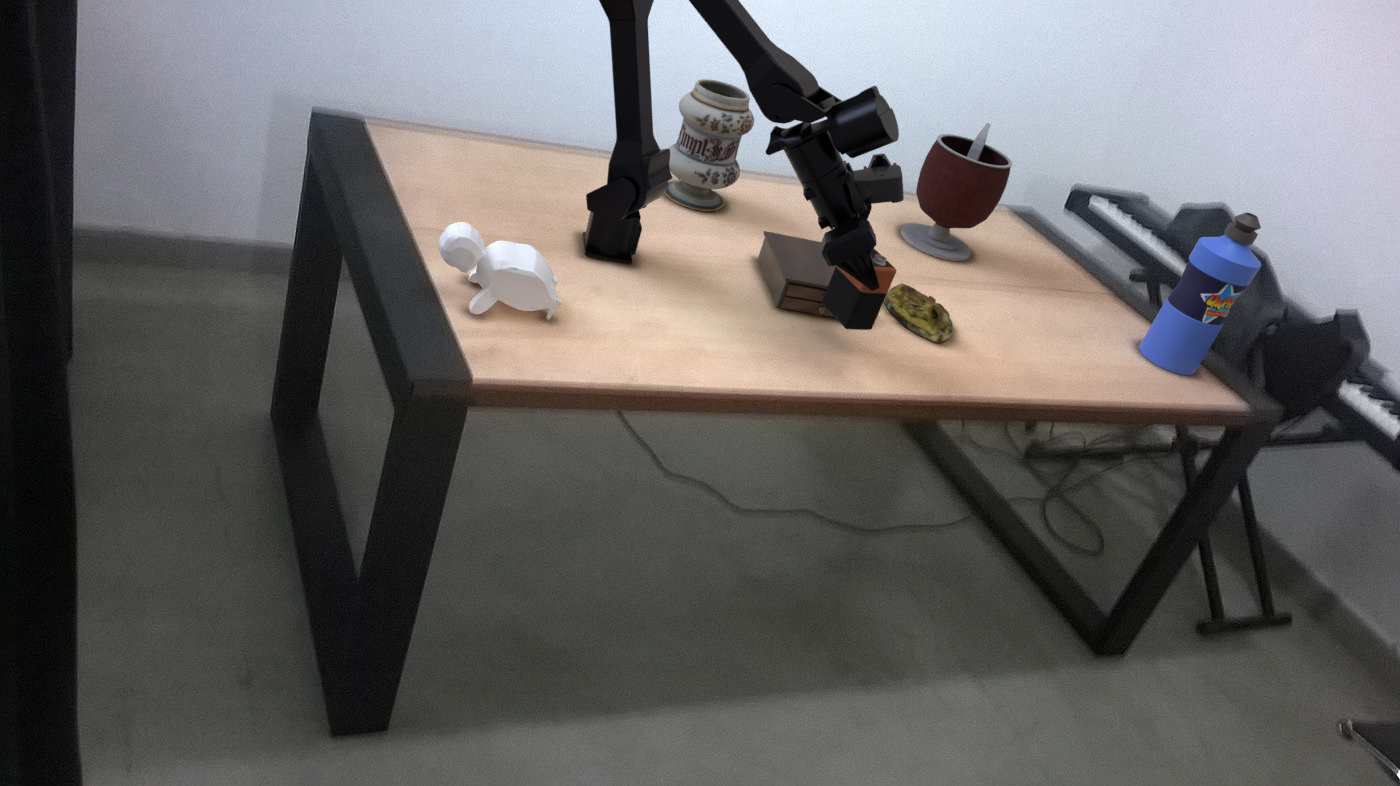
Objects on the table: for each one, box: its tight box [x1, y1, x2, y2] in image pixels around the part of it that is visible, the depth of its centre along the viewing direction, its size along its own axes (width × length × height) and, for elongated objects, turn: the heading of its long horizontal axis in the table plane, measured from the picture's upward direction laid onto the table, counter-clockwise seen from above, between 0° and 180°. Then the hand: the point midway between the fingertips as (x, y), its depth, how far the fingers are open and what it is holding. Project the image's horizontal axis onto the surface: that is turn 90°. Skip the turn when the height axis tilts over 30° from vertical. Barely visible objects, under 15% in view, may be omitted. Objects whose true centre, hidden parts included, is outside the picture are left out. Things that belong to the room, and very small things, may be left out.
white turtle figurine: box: [438, 221, 562, 321], centre depth 123 cm, size 9×8×15 cm
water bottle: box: [1138, 212, 1262, 376], centre depth 161 cm, size 9×9×25 cm
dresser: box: [756, 230, 836, 318], centre depth 150 cm, size 13×16×5 cm
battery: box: [822, 247, 897, 331], centre depth 136 cm, size 4×7×10 cm, turn 25°
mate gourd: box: [900, 122, 1013, 262], centre depth 178 cm, size 16×14×20 cm
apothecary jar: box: [663, 78, 755, 212], centre depth 165 cm, size 12×12×18 cm
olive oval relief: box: [884, 283, 954, 344], centre depth 154 cm, size 9×5×15 cm
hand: (874, 275), depth 135 cm, fingers closed on battery, 7 cm apart
